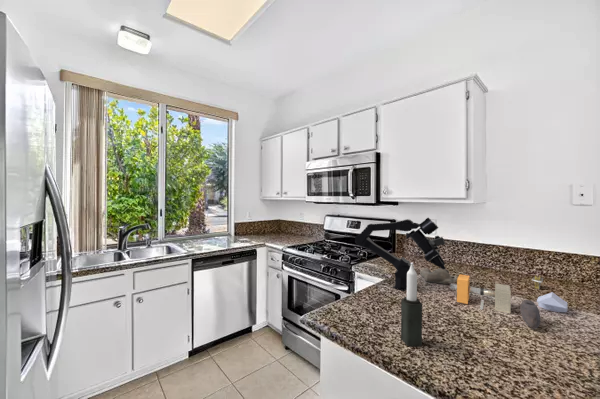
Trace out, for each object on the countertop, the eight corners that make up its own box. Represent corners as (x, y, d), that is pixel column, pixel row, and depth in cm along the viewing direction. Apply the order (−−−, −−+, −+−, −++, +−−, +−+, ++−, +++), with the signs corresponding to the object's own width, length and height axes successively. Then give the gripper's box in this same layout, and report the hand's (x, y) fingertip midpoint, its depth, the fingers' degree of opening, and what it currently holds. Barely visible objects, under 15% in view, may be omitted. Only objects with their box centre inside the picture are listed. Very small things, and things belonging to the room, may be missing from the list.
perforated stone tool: (543, 334, 89) (543, 314, 90) (523, 330, 93) (523, 310, 93) (537, 319, 102) (537, 300, 102) (519, 315, 105) (519, 297, 105)
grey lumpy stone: (435, 298, 144) (462, 286, 141) (430, 289, 140) (457, 277, 137) (421, 276, 158) (444, 264, 155) (416, 267, 154) (440, 255, 151)
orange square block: (456, 301, 117) (457, 279, 117) (459, 295, 125) (459, 274, 125) (467, 304, 114) (467, 280, 114) (469, 297, 122) (469, 275, 122)
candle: (399, 338, 86) (400, 260, 86) (414, 337, 86) (415, 260, 86) (407, 346, 81) (408, 264, 81) (423, 346, 81) (424, 264, 81)
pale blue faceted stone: (567, 317, 104) (567, 308, 113) (567, 300, 104) (567, 292, 113) (536, 310, 110) (539, 302, 119) (536, 294, 110) (539, 287, 119)
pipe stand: (448, 302, 117) (448, 282, 117) (452, 294, 128) (452, 275, 128) (510, 315, 104) (510, 292, 104) (509, 305, 115) (509, 284, 115)
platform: (520, 289, 138) (520, 276, 138) (524, 282, 151) (525, 270, 151) (552, 295, 130) (552, 282, 130) (553, 287, 142) (554, 275, 142)
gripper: (434, 232, 120) (460, 260, 115) (435, 228, 137) (458, 253, 132) (414, 246, 124) (439, 275, 119) (417, 241, 141) (439, 266, 136)
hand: (444, 266), depth 127 cm, fingers open, 9 cm apart
